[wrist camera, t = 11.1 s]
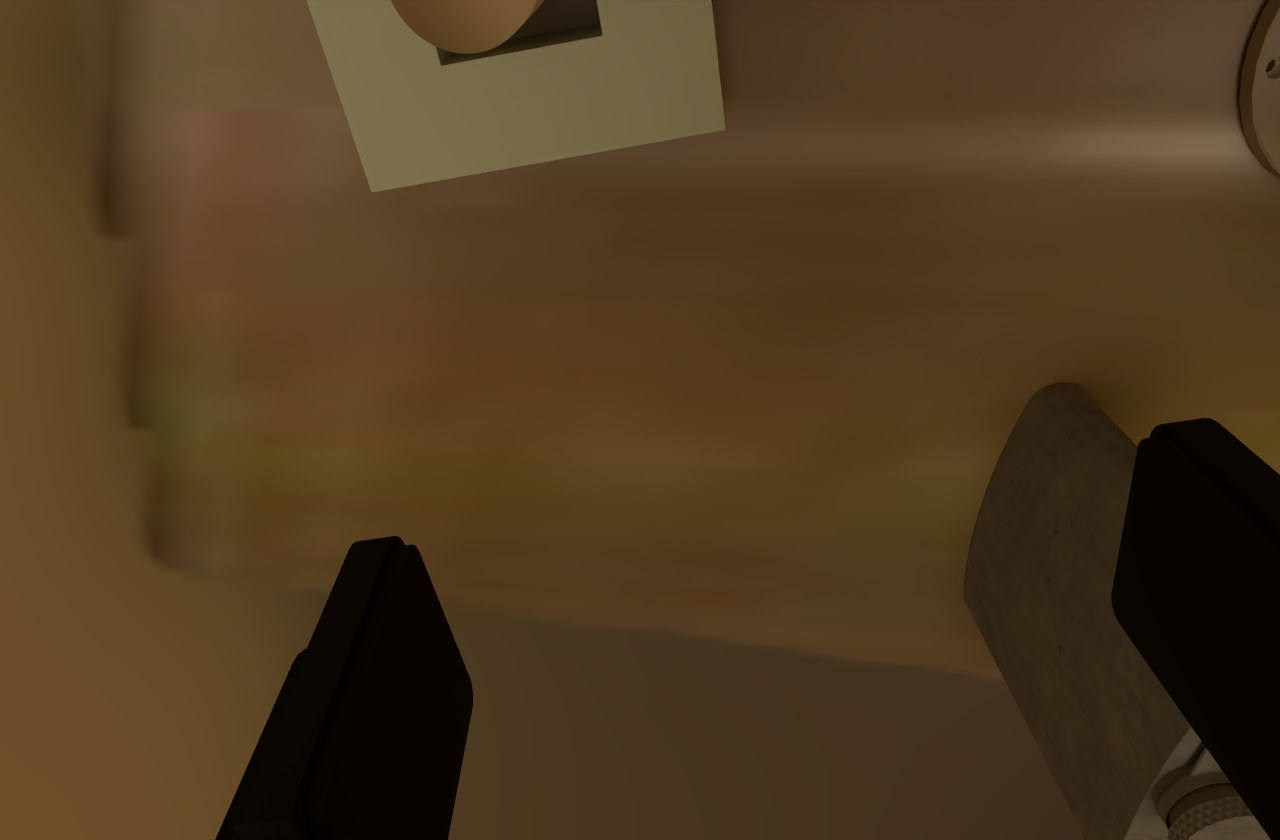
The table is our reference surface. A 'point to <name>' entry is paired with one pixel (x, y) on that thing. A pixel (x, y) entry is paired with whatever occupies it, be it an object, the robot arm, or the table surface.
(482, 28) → the peg
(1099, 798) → the hip flask
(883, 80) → the table surface
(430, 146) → the socket block
